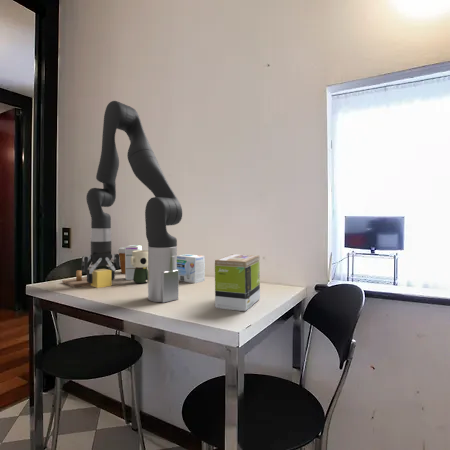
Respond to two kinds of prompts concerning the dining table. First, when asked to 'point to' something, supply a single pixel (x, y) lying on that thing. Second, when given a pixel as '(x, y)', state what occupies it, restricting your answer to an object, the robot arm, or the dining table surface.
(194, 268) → the light bulb box
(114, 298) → the dining table surface
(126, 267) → the syrup box
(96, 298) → the dining table surface
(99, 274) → the yellow cube
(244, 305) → the tea box
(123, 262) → the disposable coffee cup
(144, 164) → the robot arm
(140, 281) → the character mug
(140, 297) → the dining table surface
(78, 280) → the post block
